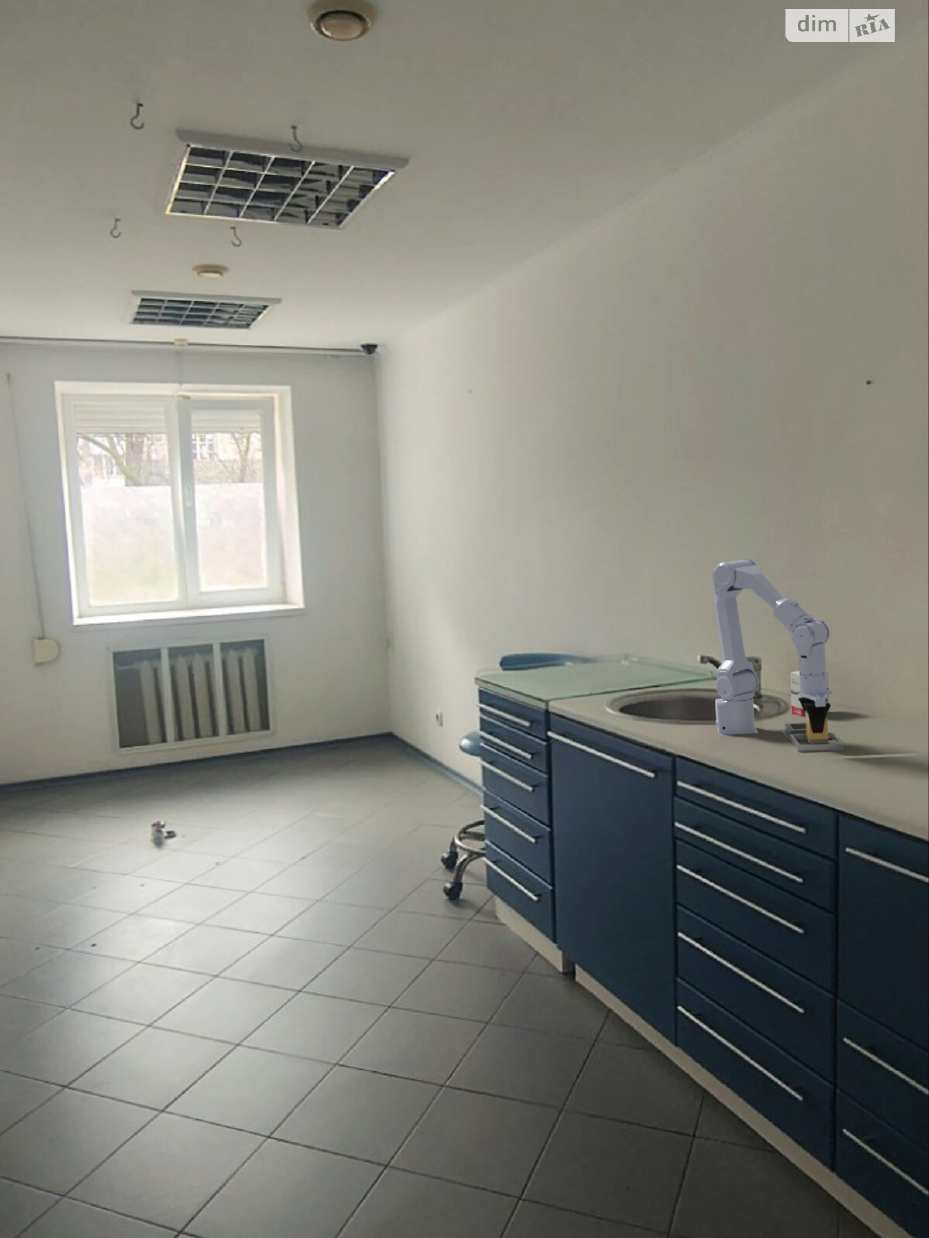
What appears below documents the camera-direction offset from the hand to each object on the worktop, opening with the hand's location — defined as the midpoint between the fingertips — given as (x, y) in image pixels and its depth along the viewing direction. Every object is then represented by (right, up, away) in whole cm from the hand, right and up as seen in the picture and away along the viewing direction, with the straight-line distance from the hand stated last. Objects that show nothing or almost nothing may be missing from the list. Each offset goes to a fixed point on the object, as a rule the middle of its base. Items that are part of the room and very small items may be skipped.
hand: (815, 730), depth 204 cm
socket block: (+1, -3, +11) cm, 11 cm away
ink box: (+11, 0, +30) cm, 32 cm away
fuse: (+1, -3, 0) cm, 3 cm away
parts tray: (0, -4, +1) cm, 4 cm away
